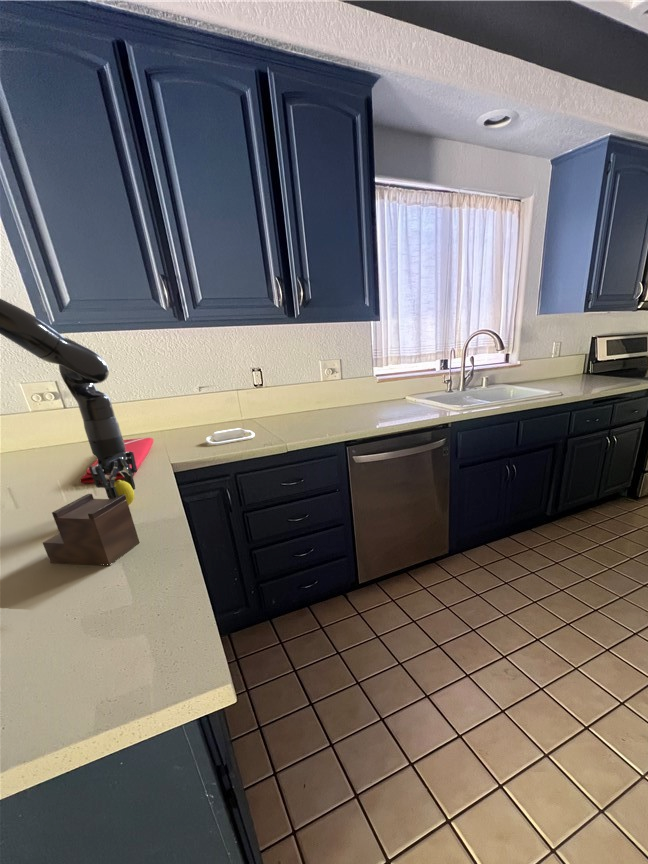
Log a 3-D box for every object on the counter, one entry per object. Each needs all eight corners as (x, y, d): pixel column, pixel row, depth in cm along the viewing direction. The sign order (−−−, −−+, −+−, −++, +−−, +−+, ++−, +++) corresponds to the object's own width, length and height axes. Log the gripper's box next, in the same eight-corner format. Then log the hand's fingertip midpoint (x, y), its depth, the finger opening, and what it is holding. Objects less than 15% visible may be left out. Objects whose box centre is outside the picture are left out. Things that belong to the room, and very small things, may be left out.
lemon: (125, 512, 115) (116, 484, 112) (110, 509, 117) (101, 482, 114) (142, 504, 120) (134, 477, 116) (127, 501, 122) (119, 475, 118)
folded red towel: (79, 484, 135) (76, 473, 133) (113, 449, 171) (110, 440, 169) (134, 478, 139) (131, 467, 138) (156, 445, 175) (154, 436, 173)
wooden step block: (50, 562, 92) (29, 511, 87) (85, 540, 101) (67, 492, 96) (110, 565, 90) (91, 513, 85) (139, 542, 99) (125, 494, 94)
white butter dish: (209, 449, 172) (208, 441, 170) (203, 441, 177) (202, 432, 175) (257, 441, 183) (257, 433, 180) (250, 432, 188) (250, 425, 185)
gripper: (110, 428, 117) (127, 484, 124) (69, 442, 104) (91, 505, 111) (135, 428, 116) (151, 485, 123) (97, 443, 103) (117, 506, 110)
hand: (122, 494), depth 117 cm, fingers open, 6 cm apart
